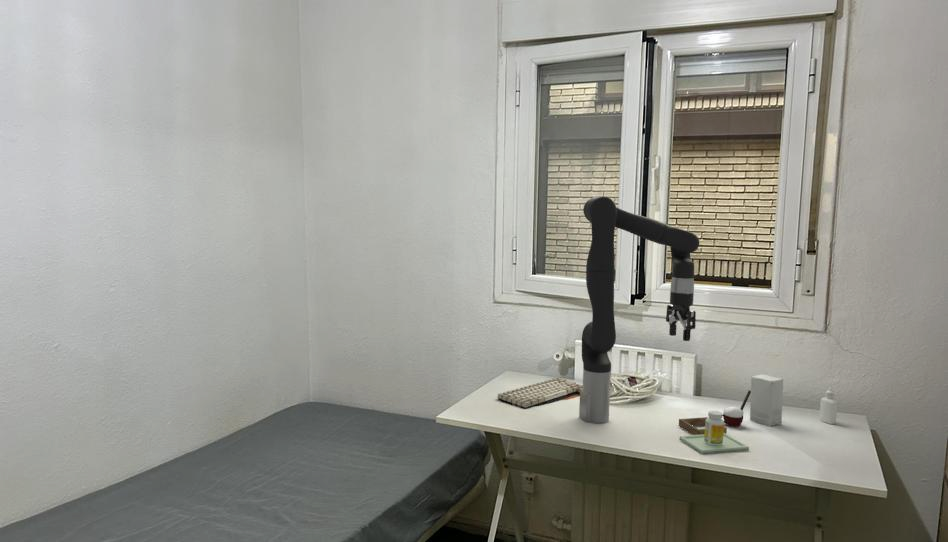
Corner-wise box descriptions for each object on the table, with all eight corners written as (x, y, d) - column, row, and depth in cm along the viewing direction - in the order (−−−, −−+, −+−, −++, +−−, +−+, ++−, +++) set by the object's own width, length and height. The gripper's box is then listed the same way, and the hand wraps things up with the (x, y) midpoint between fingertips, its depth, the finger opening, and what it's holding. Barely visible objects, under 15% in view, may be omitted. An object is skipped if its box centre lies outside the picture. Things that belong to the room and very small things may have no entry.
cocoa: (718, 426, 215) (718, 391, 214) (721, 420, 221) (721, 386, 219) (748, 430, 211) (748, 395, 209) (751, 424, 216) (751, 389, 215)
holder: (697, 437, 203) (697, 429, 203) (678, 426, 213) (678, 418, 213) (726, 435, 206) (726, 427, 205) (706, 424, 216) (707, 417, 216)
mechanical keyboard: (531, 413, 225) (532, 404, 225) (492, 401, 239) (492, 392, 238) (594, 393, 252) (594, 385, 251) (555, 383, 265) (556, 375, 265)
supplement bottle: (700, 442, 197) (702, 411, 196) (709, 438, 201) (711, 408, 200) (716, 447, 193) (718, 416, 192) (726, 443, 196) (728, 413, 196)
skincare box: (781, 424, 218) (785, 379, 216) (769, 427, 215) (773, 381, 213) (759, 416, 225) (762, 373, 224) (747, 419, 222) (750, 375, 220)
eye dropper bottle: (832, 419, 223) (835, 386, 222) (836, 425, 218) (839, 390, 217) (818, 418, 225) (821, 385, 223) (822, 423, 219) (825, 389, 218)
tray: (701, 454, 189) (702, 450, 189) (679, 439, 201) (679, 436, 201) (748, 450, 193) (749, 446, 193) (724, 436, 205) (724, 432, 204)
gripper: (661, 288, 223) (658, 334, 225) (683, 293, 209) (681, 342, 211) (680, 288, 225) (677, 333, 226) (704, 293, 211) (701, 342, 213)
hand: (679, 338), depth 219 cm, fingers open, 8 cm apart
